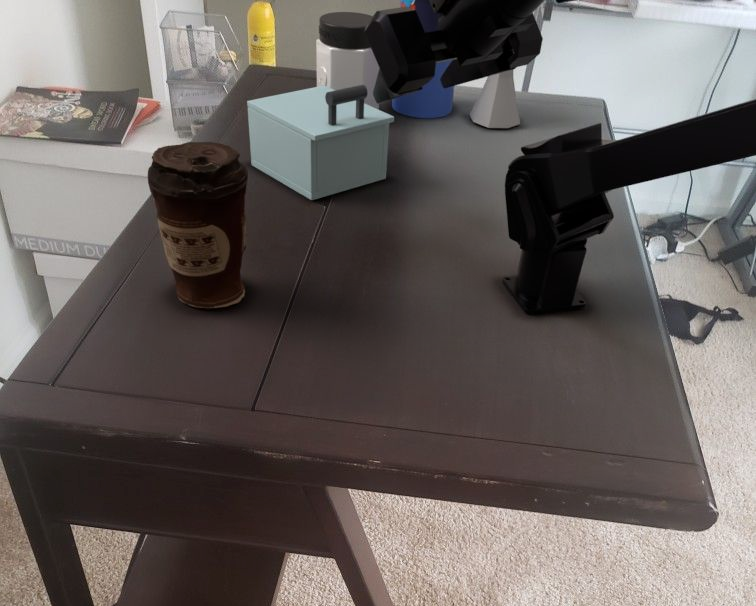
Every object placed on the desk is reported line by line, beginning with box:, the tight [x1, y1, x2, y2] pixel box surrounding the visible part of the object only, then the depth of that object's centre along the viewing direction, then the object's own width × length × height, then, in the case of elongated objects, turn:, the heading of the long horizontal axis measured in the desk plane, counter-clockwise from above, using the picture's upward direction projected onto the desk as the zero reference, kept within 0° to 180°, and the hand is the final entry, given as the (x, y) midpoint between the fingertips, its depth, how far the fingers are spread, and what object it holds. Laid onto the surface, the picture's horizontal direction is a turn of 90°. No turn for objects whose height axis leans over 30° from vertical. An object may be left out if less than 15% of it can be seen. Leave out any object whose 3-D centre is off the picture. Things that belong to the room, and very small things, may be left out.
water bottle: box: [391, 0, 455, 119], centre depth 103 cm, size 9×9×25 cm
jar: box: [315, 11, 380, 110], centre depth 104 cm, size 9×8×12 cm
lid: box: [246, 85, 395, 141], centre depth 86 cm, size 13×12×4 cm
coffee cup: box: [147, 141, 249, 309], centre depth 66 cm, size 9×8×13 cm
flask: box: [469, 69, 521, 129], centre depth 106 cm, size 7×7×10 cm
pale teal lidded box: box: [247, 106, 390, 201], centre depth 90 cm, size 13×12×7 cm
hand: (410, 90), depth 76 cm, fingers open, 9 cm apart
